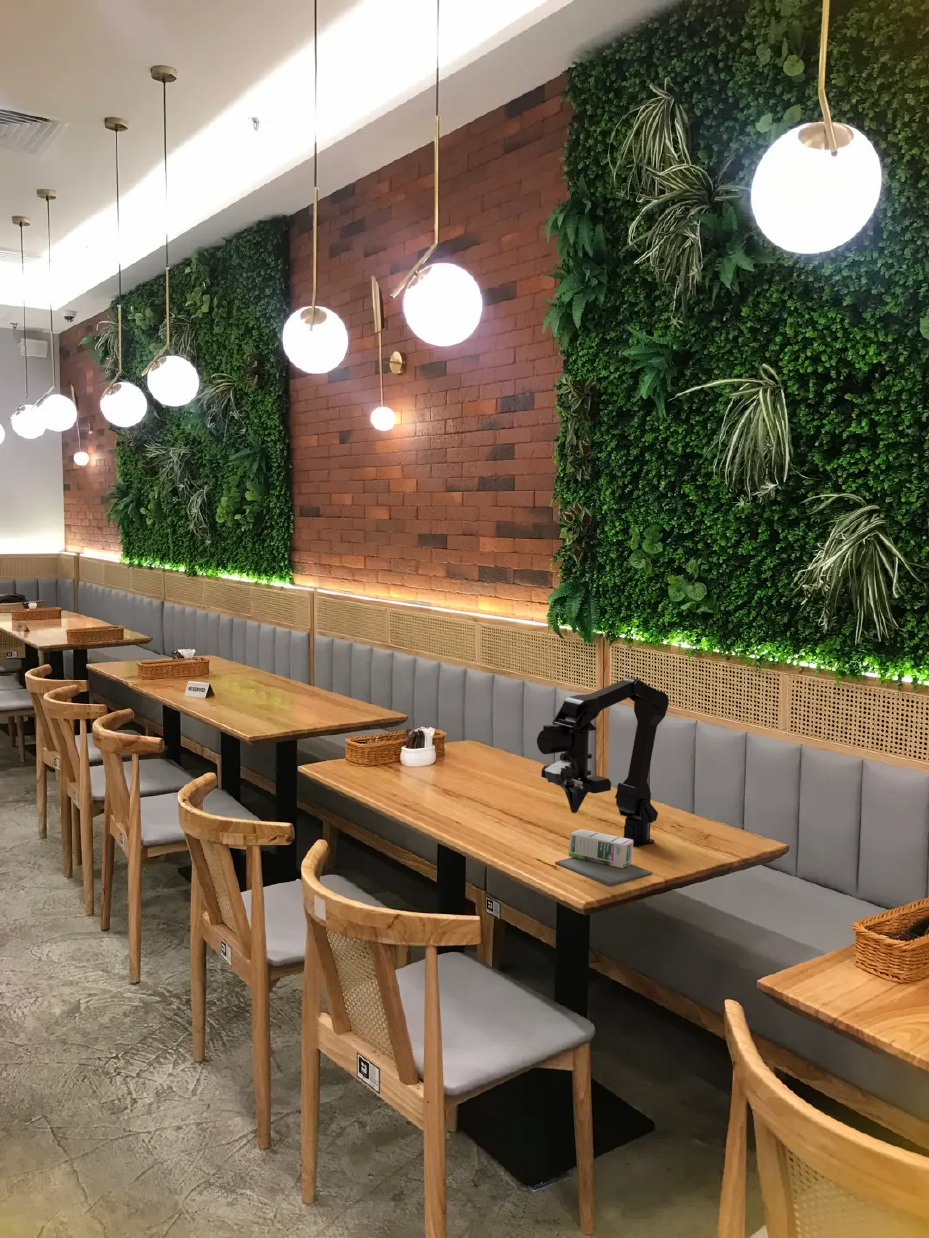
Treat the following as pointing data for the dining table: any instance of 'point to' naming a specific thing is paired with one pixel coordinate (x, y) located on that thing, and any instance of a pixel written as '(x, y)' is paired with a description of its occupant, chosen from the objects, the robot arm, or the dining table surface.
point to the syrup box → (601, 848)
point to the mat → (603, 871)
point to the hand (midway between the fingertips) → (574, 812)
